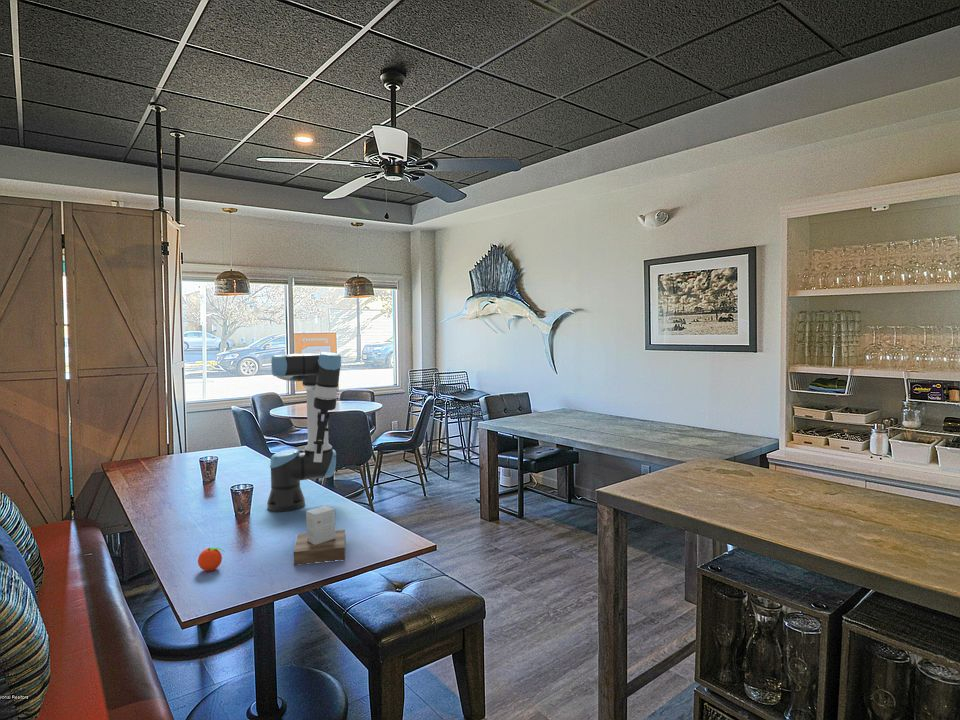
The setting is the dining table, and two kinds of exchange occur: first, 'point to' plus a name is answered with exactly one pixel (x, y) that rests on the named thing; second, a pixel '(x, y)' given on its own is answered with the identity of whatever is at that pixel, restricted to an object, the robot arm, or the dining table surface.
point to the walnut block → (319, 549)
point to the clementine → (210, 559)
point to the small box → (320, 525)
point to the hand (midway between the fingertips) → (318, 455)
